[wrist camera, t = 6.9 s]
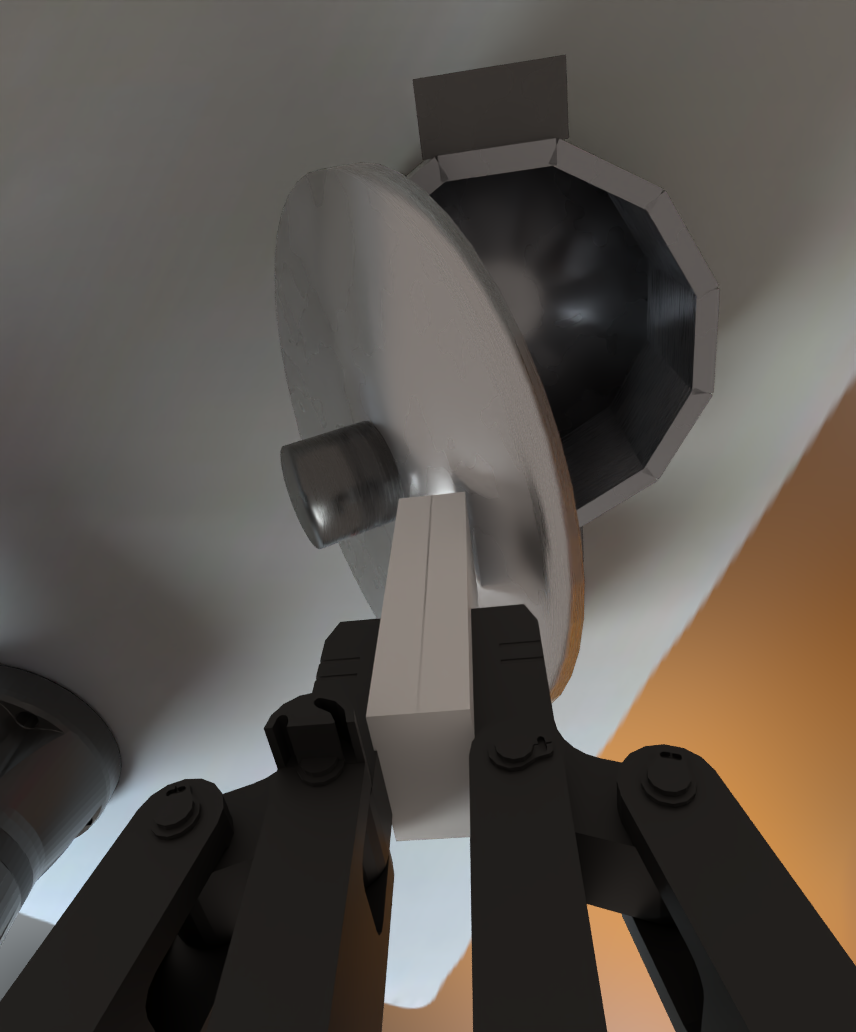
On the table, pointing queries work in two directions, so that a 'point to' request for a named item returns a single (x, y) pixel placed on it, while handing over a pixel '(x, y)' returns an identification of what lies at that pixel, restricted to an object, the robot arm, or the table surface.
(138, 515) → the table surface
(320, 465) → the lid
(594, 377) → the pot
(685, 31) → the table surface
